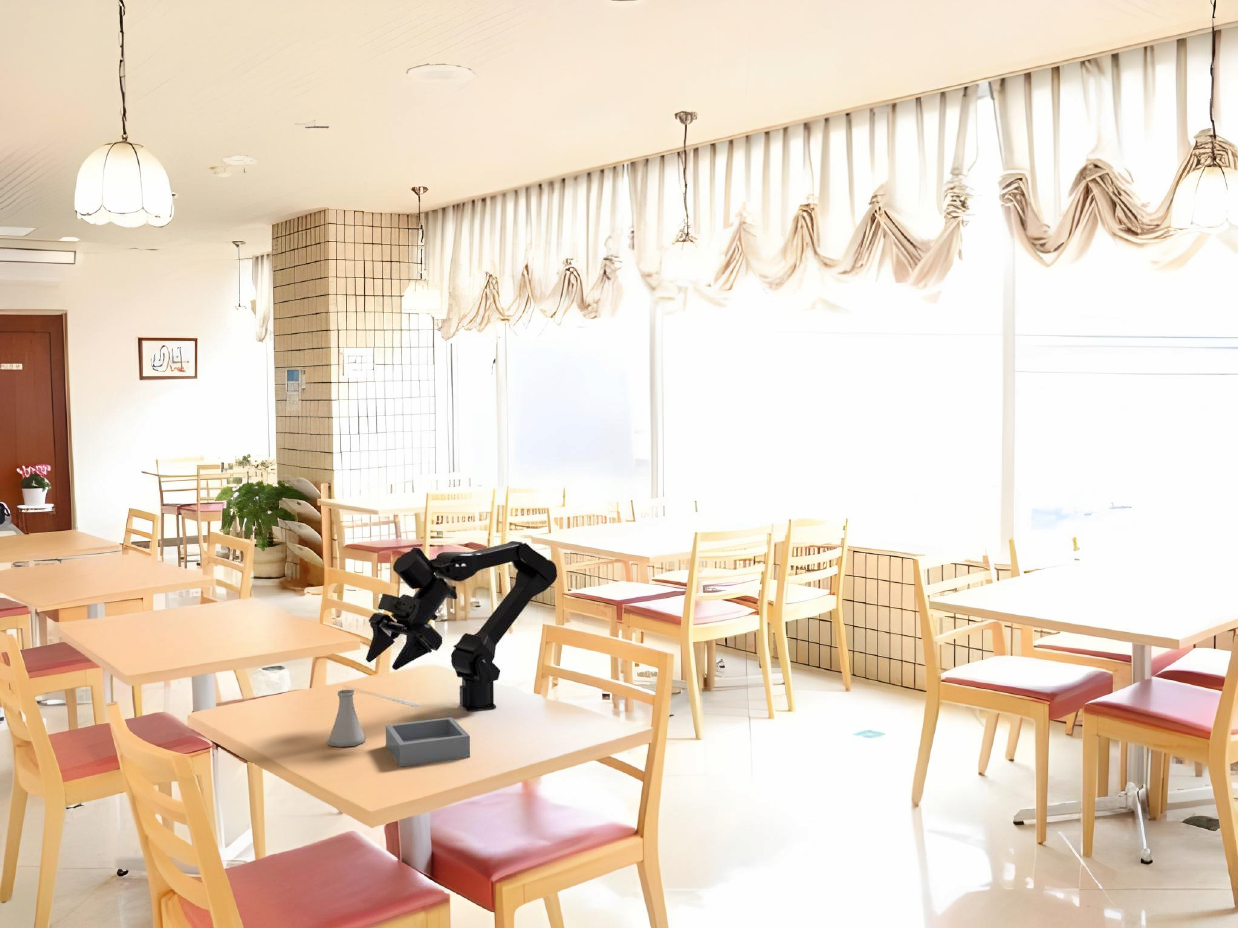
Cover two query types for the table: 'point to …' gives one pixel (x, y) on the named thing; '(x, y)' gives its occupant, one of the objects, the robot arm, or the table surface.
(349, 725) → the flask
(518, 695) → the table surface
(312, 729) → the table surface
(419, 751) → the tray
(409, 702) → the butter knife
